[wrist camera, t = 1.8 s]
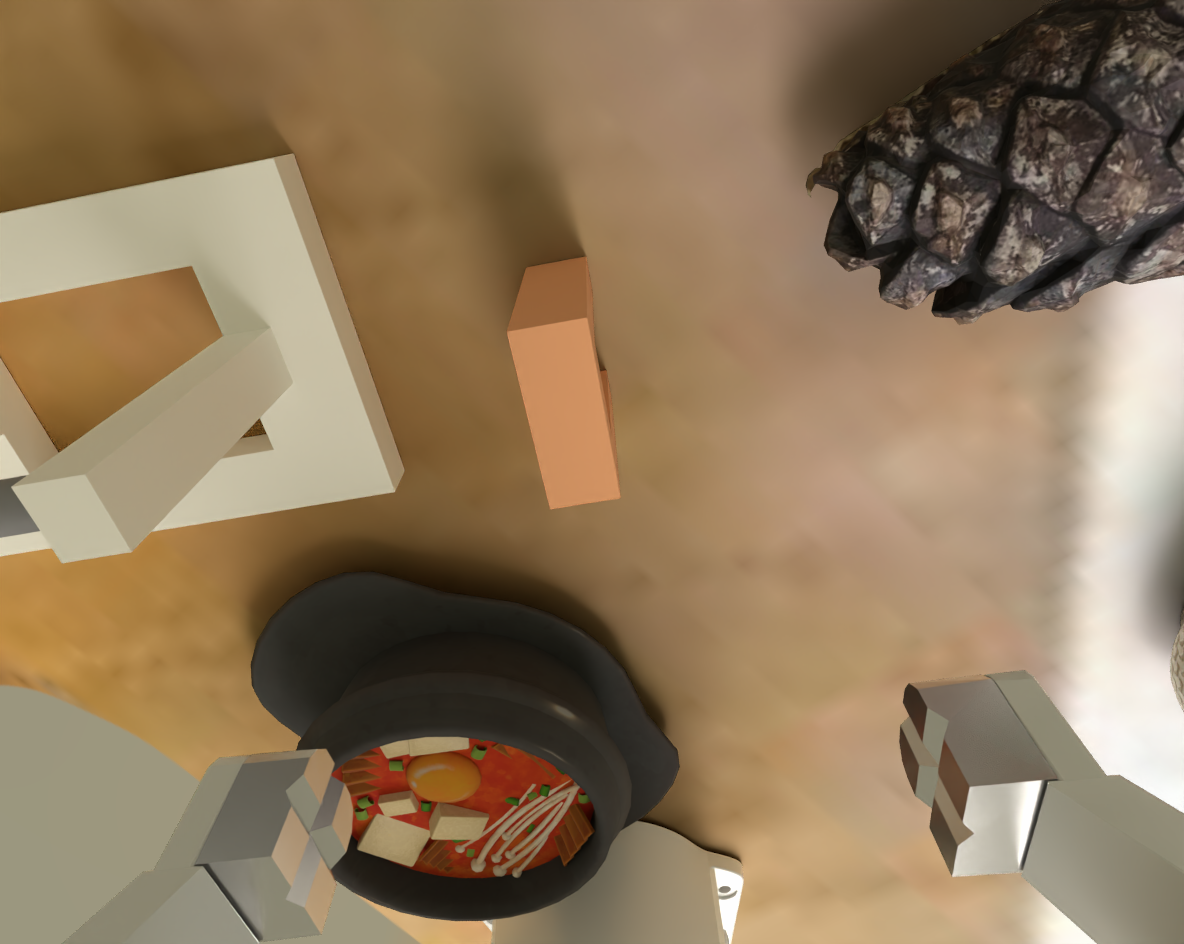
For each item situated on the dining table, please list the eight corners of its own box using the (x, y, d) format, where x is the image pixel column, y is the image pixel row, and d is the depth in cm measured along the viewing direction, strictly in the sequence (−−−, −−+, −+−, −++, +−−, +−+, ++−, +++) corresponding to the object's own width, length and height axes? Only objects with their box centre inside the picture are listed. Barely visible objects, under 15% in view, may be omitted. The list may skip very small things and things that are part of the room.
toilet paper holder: (293, 153, 27) (51, 214, 15) (404, 470, 34) (302, 694, 21) (-182, 249, 28) (-759, 377, 16) (15, 534, 35) (-288, 778, 23)
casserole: (745, 709, 42) (779, 844, 34) (550, 859, 49) (544, 998, 41) (377, 474, 34) (320, 584, 26) (206, 693, 41) (123, 828, 33)
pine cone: (758, 145, 27) (842, 176, 18) (1265, -154, 23) (1686, -298, 14) (851, 368, 32) (954, 479, 23) (1289, 151, 27) (1621, 184, 19)
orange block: (612, 401, 32) (620, 498, 25) (557, 410, 32) (549, 509, 25) (586, 256, 29) (587, 317, 21) (526, 267, 29) (506, 332, 22)
